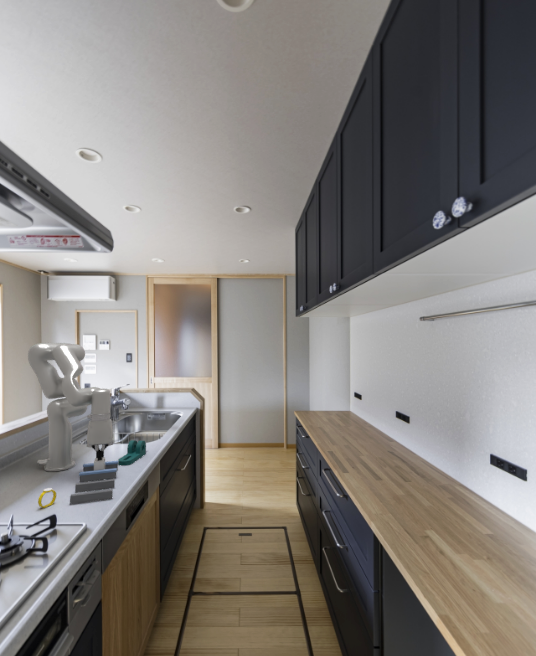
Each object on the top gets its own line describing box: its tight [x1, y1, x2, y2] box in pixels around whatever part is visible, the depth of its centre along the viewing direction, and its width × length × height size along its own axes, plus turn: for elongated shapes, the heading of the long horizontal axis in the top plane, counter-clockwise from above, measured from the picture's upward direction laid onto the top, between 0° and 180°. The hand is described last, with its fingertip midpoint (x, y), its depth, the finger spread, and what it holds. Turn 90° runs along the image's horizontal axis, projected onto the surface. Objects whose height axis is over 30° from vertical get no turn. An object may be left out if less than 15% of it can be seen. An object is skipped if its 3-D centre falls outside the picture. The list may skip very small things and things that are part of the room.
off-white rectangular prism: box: [93, 456, 106, 471], centre depth 158 cm, size 4×5×7 cm
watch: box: [37, 487, 57, 509], centre depth 129 cm, size 6×3×6 cm, turn 157°
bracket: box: [117, 439, 147, 467], centre depth 179 cm, size 18×7×8 cm, turn 174°
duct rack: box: [69, 460, 119, 505], centre depth 148 cm, size 14×33×4 cm, turn 19°
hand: (99, 459), depth 158 cm, fingers closed
